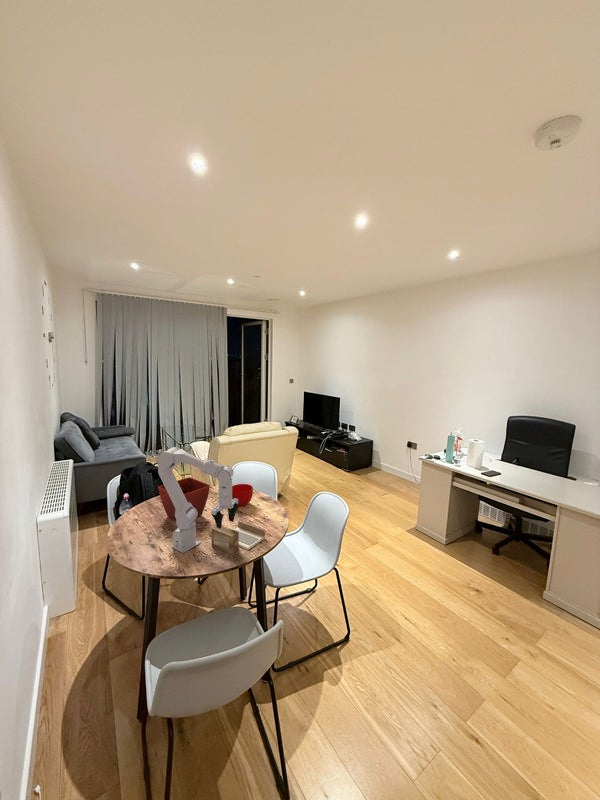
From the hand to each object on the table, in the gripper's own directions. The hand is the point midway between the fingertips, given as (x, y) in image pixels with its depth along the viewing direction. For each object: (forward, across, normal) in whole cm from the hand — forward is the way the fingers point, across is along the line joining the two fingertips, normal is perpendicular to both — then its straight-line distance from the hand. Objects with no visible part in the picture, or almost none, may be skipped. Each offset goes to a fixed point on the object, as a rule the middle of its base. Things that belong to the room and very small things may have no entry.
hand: (225, 524), depth 142 cm
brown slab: (+10, 0, 0) cm, 11 cm away
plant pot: (+11, +9, +38) cm, 40 cm away
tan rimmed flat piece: (+10, +10, -2) cm, 14 cm away
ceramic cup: (+11, +36, +24) cm, 45 cm away
